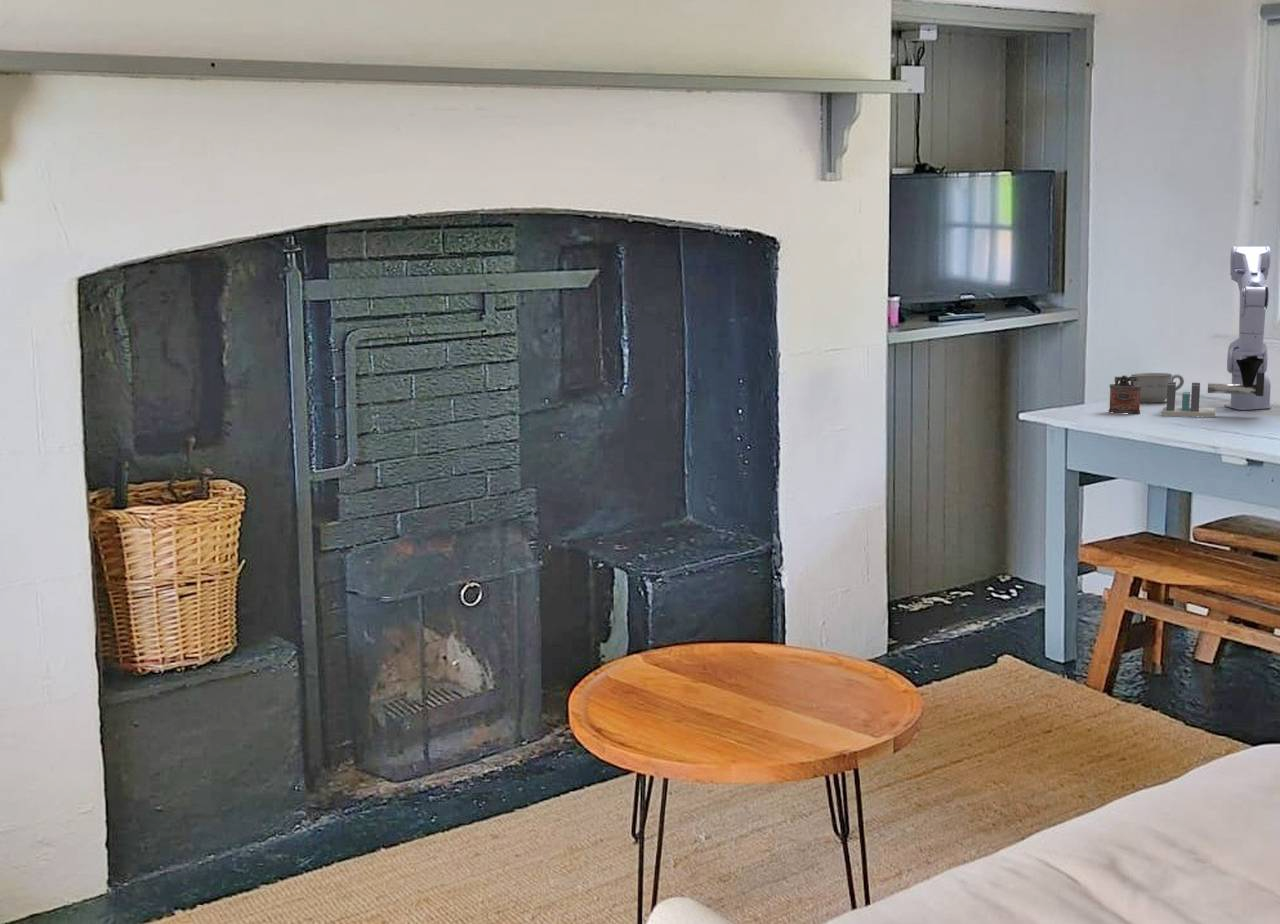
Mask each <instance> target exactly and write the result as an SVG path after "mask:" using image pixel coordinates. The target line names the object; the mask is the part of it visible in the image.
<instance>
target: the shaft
mask: <svg viewBox="0 0 1280 924" xmlns="http://www.w3.org/2000/svg"><path fill="white" fill-rule="evenodd" d="M1265 373H1266V372H1265ZM1265 373H1264V372H1257V376H1256V385H1253V386H1243V384H1232V383H1210V382H1209V383H1207V394H1228V395H1231V394H1255V395H1256V396H1263V392H1264V375H1266V374H1265Z"/></svg>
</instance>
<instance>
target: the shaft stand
mask: <svg viewBox="0 0 1280 924" xmlns="http://www.w3.org/2000/svg"><path fill="white" fill-rule="evenodd" d="M1176 387H1177V381H1173V382H1168V386H1167V399H1166V405H1165V406H1162V409H1161V410H1162V411H1161V416H1162V417H1181V416H1199V417H1198V418H1211V417H1215V418H1216V407H1200V393H1201V392H1200V391H1201V383H1200V382H1191V393H1190V406H1189V411H1182V406H1176V392H1177V391H1176ZM1202 416H1203V417H1202Z"/></svg>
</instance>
